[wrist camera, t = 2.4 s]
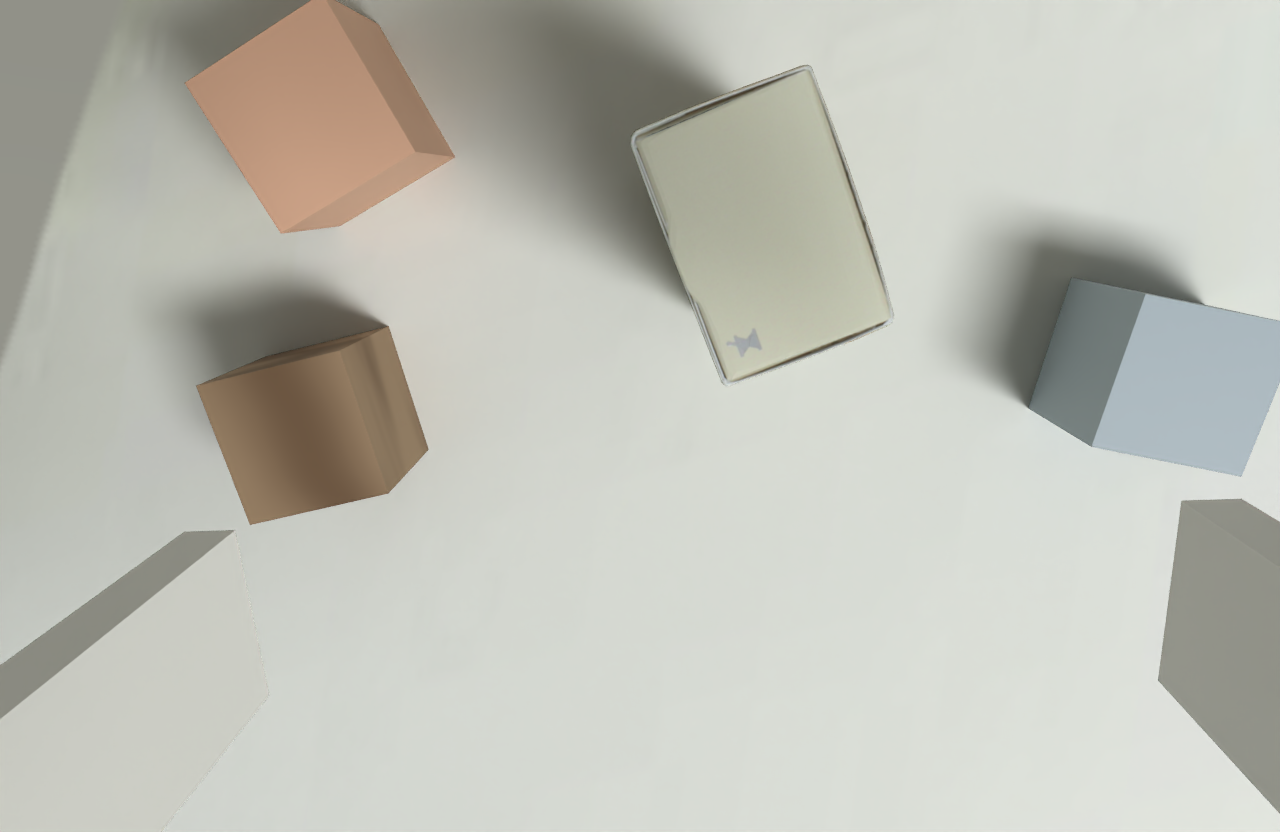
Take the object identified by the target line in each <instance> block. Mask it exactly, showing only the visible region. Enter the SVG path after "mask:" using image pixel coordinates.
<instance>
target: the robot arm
mask: <svg viewBox="0 0 1280 832" xmlns="http://www.w3.org/2000/svg"><path fill="white" fill-rule="evenodd" d="M1158 681H1159V682H1160V683H1161V684H1162V685H1163V686H1164V687H1165V689H1166V690H1167V691H1168V692H1169V693H1170V694H1171V695H1172V696H1173V697H1174V698H1175V699H1176V701H1177V702H1178V703H1179V704H1180V705H1181V706H1182V707H1183V708H1184V709H1185V710H1186V712H1187V713H1188V714H1189V715H1190V716H1191V717H1192V718H1193V719H1194V720H1195V721H1196V722H1197V724H1198V725H1199V726H1200V727H1201V728H1202V729H1203V730H1204V731H1205V732H1206V733H1207V735H1208V736H1209V737H1210V738H1211V739H1212V740H1213V741H1214V742H1215V743H1216V744H1217V745H1218V747H1219V748H1220V749H1221V750H1222V751H1223V752H1224V753H1225V754H1226V755H1227V756H1228V758H1229V759H1230V760H1231V761H1232V762H1233V763H1234V764H1235V765H1236V766H1237V767H1238V768H1239V770H1240V771H1241V772H1242V773H1243V774H1244V775H1245V776H1246V777H1247V778H1248V779H1249V781H1250V782H1251V783H1252V784H1253V785H1254V786H1255V787H1256V788H1257V789H1258V790H1259V791H1260V793H1261V794H1262V795H1263V796H1264V797H1265V798H1266V799H1267V800H1268V801H1269V802H1270V804H1271V805H1272V806H1273V807H1274V808H1275V809H1276V810H1277V811H1278V812H1279V813H1280V522H1279V521H1277V520H1276V519H1274V518H1272V517H1271V516H1269V515H1267V514H1266V513H1264V512H1262V511H1261V510H1259V509H1257V508H1256V507H1254V506H1252V505H1251V504H1249V503H1247V502H1246V501H1244V500H1242V499H1222V500H1190V501H1181V509H1180V517H1179V524H1178V532H1177V539H1176V547H1175V555H1174V562H1173V570H1172V578H1171V585H1170V593H1169V600H1168V608H1167V616H1166V623H1165V631H1164V639H1163V646H1162V654H1161V662H1160V669H1159V677H1158ZM268 697H269V691H268V686H267V681H266V676H265V671H264V667H263V662H262V657H261V652H260V647H259V642H258V638H257V633H256V628H255V623H254V618H253V613H252V609H251V604H250V599H249V594H248V589H247V584H246V580H245V575H244V570H243V565H242V560H241V555H240V551H239V546H238V541H237V536H236V531H235V530H226V531H194V532H183V533H182V534H181V535H179V536H178V537H176V538H175V539H174V540H172V541H171V542H170V543H168V544H167V545H165V546H164V547H163V548H161V549H160V550H159V551H157V552H156V553H154V554H153V555H152V556H150V557H149V558H148V559H146V560H145V561H143V562H142V563H141V564H139V565H138V566H137V567H135V568H134V569H132V570H131V571H130V572H128V573H127V574H125V575H124V576H123V577H121V578H120V579H119V580H117V581H116V582H114V583H113V584H112V585H110V586H109V587H108V588H106V589H105V590H103V591H102V592H101V593H99V594H98V595H97V596H95V597H94V598H92V599H91V600H90V601H88V602H87V603H86V604H84V605H83V606H81V607H80V608H79V609H77V610H76V611H75V612H73V613H72V614H70V615H69V616H68V617H66V618H65V619H63V620H62V621H61V622H59V623H58V624H57V625H55V626H54V627H52V628H51V629H50V630H48V631H47V632H46V633H44V634H43V635H41V636H40V637H39V638H37V639H36V640H35V641H33V642H32V643H30V644H29V645H28V646H26V647H25V648H24V649H22V650H21V651H19V652H18V653H17V654H15V655H14V656H13V657H11V658H10V659H8V660H7V661H6V662H4V663H3V664H1V665H0V832H162V831H163V830H164V828H165V827H166V826H167V825H168V823H169V822H170V821H171V820H172V818H173V817H174V816H175V815H176V813H177V812H178V811H179V809H180V808H181V807H182V806H183V804H184V803H185V802H186V801H187V799H188V798H189V797H190V796H191V794H192V793H193V792H194V790H195V789H196V788H197V787H198V785H199V784H200V783H201V782H202V780H203V779H204V778H205V777H206V775H207V774H208V773H209V772H210V770H211V769H212V768H213V766H214V765H215V764H216V763H217V761H218V760H219V759H220V758H221V756H222V755H223V754H224V753H225V751H226V750H227V749H228V747H229V746H230V745H231V744H232V742H233V741H234V740H235V739H236V737H237V736H238V735H239V734H240V732H241V731H242V730H243V729H244V727H245V726H246V725H247V723H248V722H249V721H250V720H251V718H252V717H253V716H254V715H255V713H256V712H257V711H258V710H259V708H260V707H261V706H262V705H263V703H264V702H265V701H266V699H267V698H268Z"/></svg>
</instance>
